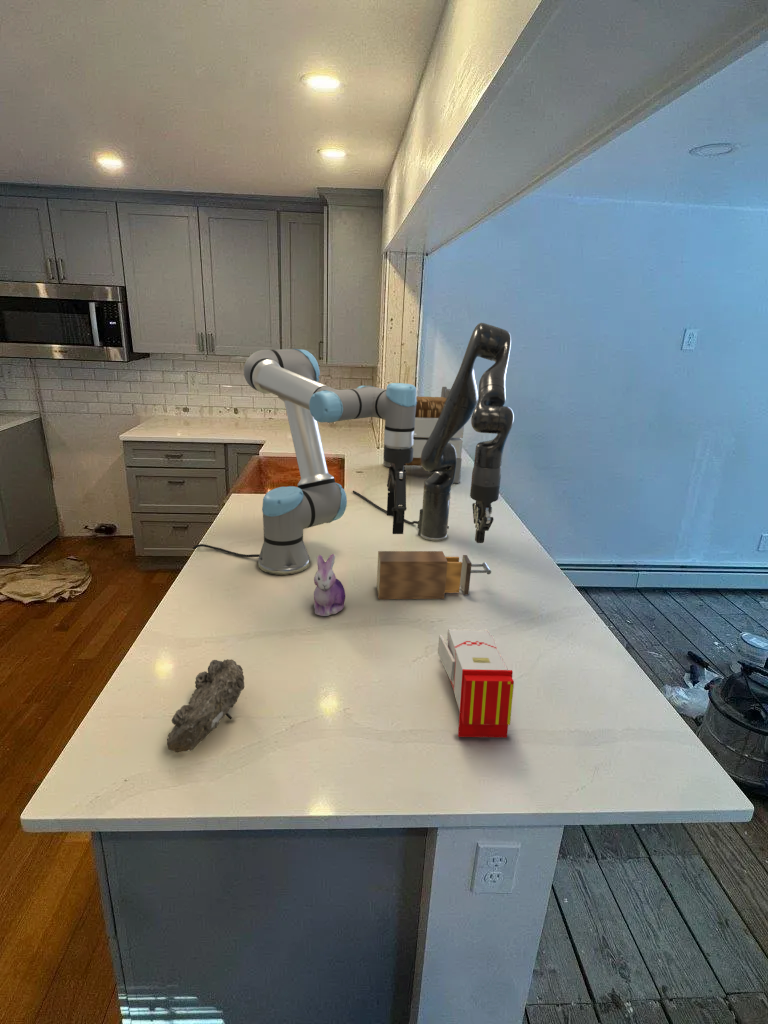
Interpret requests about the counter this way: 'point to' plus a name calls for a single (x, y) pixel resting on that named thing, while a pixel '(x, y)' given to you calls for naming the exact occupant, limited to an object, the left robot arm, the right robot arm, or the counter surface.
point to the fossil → (206, 705)
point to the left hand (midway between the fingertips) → (394, 524)
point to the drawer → (461, 574)
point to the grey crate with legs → (424, 425)
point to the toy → (478, 682)
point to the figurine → (327, 589)
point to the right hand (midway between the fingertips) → (479, 542)
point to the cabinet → (411, 574)
